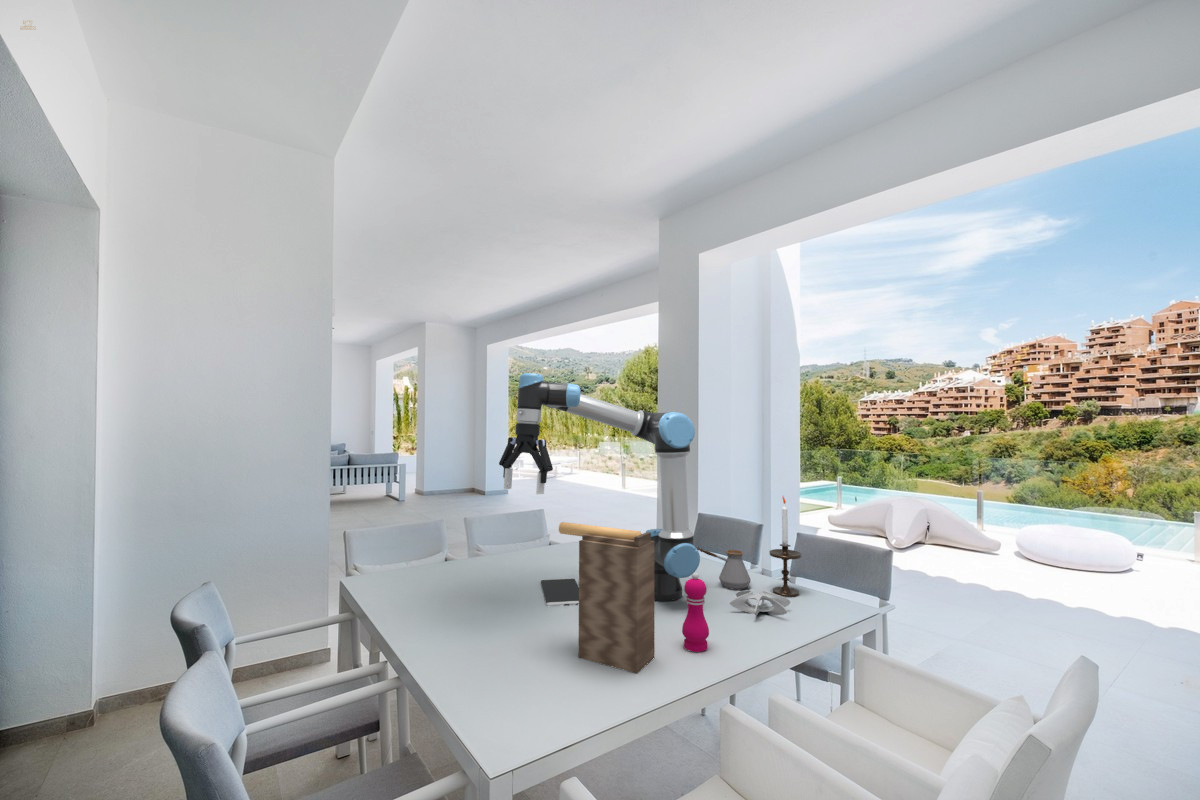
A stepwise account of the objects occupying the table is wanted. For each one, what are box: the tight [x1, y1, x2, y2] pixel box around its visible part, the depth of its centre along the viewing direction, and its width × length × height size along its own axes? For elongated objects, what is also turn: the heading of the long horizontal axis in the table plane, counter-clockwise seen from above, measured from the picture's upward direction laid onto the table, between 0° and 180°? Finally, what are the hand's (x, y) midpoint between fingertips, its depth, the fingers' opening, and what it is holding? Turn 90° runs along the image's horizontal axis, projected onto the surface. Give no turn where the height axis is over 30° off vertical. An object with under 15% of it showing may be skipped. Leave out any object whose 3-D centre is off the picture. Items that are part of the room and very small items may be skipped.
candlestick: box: [769, 496, 802, 598], centre depth 191 cm, size 11×11×35 cm
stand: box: [578, 531, 655, 674], centre depth 138 cm, size 17×10×32 cm, turn 59°
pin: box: [558, 521, 642, 540], centre depth 141 cm, size 24×3×3 cm, turn 59°
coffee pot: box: [695, 546, 752, 591], centre depth 198 cm, size 21×12×15 cm, turn 98°
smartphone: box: [540, 577, 579, 607], centre depth 190 cm, size 13×27×2 cm, turn 11°
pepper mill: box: [681, 572, 710, 653], centre depth 144 cm, size 7×7×20 cm
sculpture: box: [729, 590, 791, 617], centre depth 171 cm, size 18×20×6 cm
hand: (523, 491), depth 164 cm, fingers open, 13 cm apart
